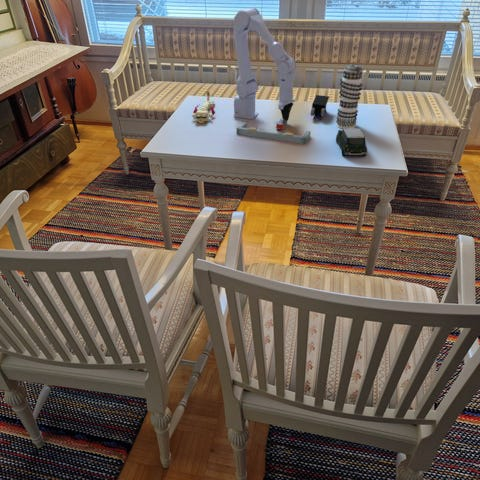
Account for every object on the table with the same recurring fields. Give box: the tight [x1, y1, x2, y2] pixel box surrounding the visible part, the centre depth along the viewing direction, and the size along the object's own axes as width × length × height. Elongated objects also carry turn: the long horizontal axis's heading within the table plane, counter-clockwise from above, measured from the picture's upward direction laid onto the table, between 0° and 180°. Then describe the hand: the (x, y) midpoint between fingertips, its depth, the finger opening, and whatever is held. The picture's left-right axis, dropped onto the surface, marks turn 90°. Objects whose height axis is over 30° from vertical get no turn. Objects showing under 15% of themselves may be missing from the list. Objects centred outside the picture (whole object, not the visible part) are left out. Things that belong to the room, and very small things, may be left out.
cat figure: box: [191, 90, 216, 124], centre depth 197 cm, size 10×9×25 cm
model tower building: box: [335, 63, 364, 130], centre depth 178 cm, size 9×9×25 cm
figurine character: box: [310, 94, 330, 121], centre depth 194 cm, size 7×8×15 cm
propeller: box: [274, 118, 285, 130], centre depth 181 cm, size 4×25×4 cm, turn 161°
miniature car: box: [335, 127, 368, 157], centre depth 163 cm, size 9×18×8 cm, turn 0°
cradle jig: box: [236, 121, 311, 145], centre depth 177 cm, size 30×8×3 cm, turn 67°
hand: (285, 120), depth 187 cm, fingers closed, pressing on propeller
